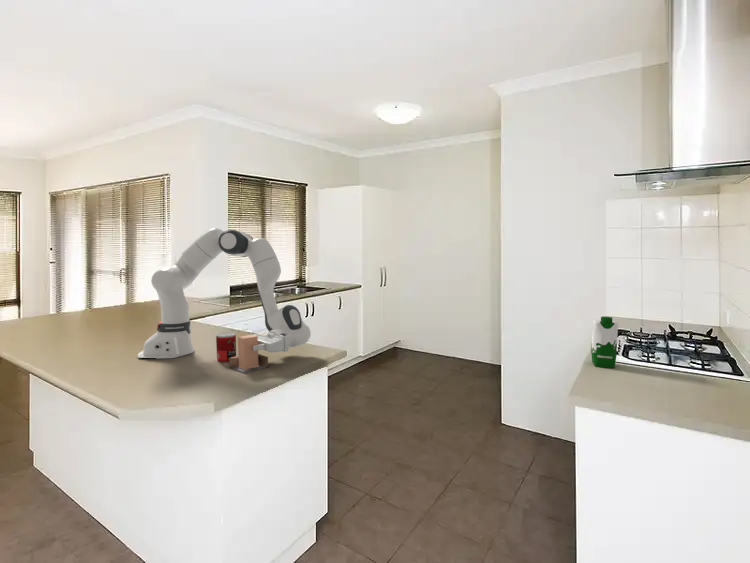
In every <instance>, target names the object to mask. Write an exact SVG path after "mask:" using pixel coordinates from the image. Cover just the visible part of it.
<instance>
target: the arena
mask: <svg viewBox="0 0 750 563" xmlns="http://www.w3.org/2000/svg"><path fill="white" fill-rule="evenodd" d="M229 368H230V369H232V370H235V371H237V372H240V373H242V374H245V373H249V372H254V371H257V370H261V369H265V368H269V357H268V356H266V355H263V354H260V353H258V366H256V367H252V368H248V369H243V368H240V367H239V357H238V355H236V357H231V358H230V362H229Z"/></svg>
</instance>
